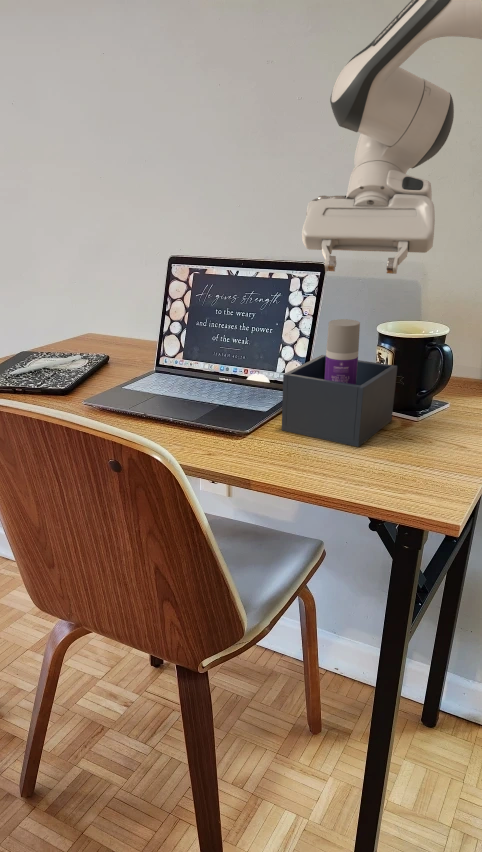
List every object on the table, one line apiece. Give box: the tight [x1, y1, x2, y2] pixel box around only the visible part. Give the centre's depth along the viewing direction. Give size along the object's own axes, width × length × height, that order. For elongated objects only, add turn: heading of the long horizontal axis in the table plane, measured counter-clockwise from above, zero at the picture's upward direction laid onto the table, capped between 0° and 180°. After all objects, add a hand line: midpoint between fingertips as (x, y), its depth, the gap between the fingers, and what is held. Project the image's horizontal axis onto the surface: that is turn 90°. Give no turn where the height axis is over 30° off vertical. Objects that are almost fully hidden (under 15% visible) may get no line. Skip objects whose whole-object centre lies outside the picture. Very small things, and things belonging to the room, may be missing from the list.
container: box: [325, 318, 361, 385], centre depth 102 cm, size 5×5×15 cm
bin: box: [281, 354, 398, 448], centre depth 104 cm, size 13×13×9 cm
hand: (360, 270), depth 106 cm, fingers open, 8 cm apart
